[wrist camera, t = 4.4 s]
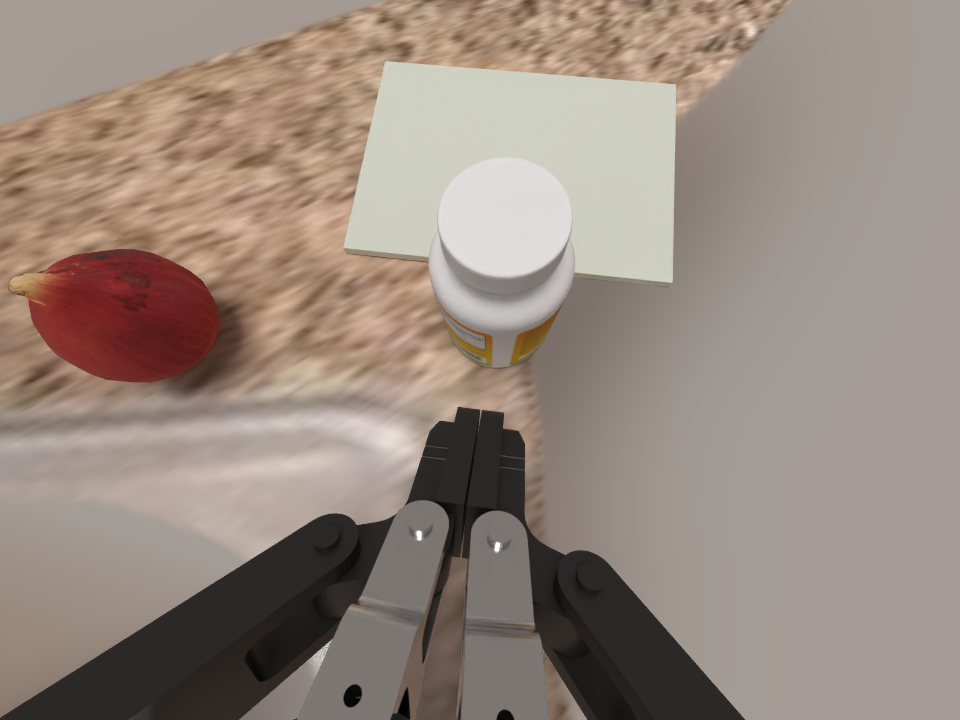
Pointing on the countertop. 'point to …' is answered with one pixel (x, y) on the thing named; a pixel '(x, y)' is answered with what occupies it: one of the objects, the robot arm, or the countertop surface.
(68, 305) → the onion
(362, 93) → the countertop surface
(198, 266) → the countertop surface
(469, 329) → the supplement bottle
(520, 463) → the robot arm
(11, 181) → the countertop surface
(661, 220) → the mat
